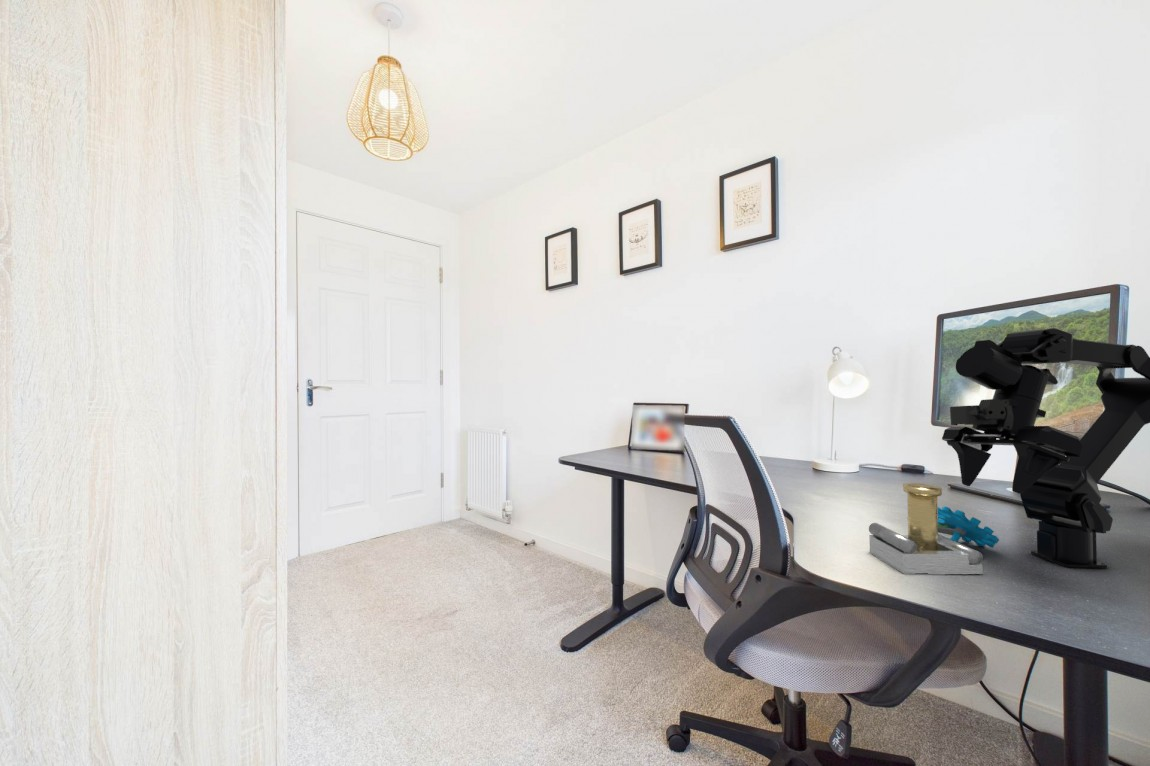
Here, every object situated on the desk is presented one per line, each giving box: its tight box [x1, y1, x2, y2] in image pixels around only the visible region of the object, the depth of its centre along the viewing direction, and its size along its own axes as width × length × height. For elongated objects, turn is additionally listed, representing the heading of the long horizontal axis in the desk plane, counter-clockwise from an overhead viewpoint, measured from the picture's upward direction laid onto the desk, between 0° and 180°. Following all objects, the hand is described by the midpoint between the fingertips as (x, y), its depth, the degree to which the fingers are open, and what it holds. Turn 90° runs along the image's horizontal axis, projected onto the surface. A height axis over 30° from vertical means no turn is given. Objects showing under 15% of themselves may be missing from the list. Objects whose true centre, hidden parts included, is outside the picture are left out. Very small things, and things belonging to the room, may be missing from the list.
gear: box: [938, 506, 1000, 549], centre depth 83 cm, size 11×6×10 cm
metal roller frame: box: [868, 522, 984, 575], centre depth 75 cm, size 12×9×5 cm
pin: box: [902, 482, 943, 551], centre depth 75 cm, size 5×5×13 cm
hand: (989, 488), depth 73 cm, fingers open, 9 cm apart
